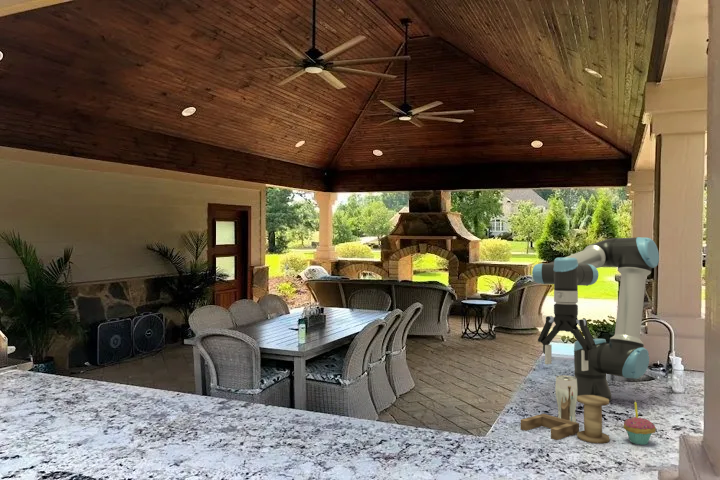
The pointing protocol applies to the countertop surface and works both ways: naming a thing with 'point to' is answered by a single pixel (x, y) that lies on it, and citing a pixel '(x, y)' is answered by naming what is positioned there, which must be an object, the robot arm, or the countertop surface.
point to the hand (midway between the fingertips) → (566, 367)
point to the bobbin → (593, 419)
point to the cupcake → (639, 428)
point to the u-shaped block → (551, 425)
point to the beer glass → (566, 396)
